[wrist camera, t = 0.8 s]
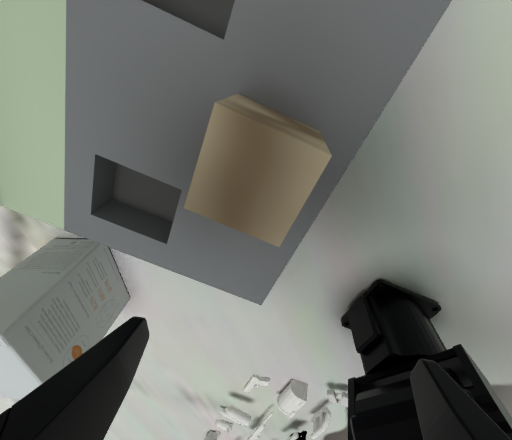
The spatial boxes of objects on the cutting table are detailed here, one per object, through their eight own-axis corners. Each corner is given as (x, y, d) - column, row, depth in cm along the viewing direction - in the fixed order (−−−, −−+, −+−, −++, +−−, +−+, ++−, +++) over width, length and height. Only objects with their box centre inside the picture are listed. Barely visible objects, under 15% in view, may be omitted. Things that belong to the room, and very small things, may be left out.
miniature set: (247, 476, 48) (189, 444, 49) (350, 375, 33) (265, 330, 33) (236, 525, 43) (172, 489, 43) (356, 431, 27) (253, 375, 28)
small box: (54, 236, 25) (-81, 330, 16) (107, 237, 24) (-3, 335, 15) (85, 296, 29) (-8, 399, 20) (132, 298, 28) (57, 406, 19)
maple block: (319, 131, 15) (331, 155, 10) (281, 203, 17) (279, 247, 13) (237, 93, 14) (214, 102, 10) (211, 173, 17) (183, 208, 12)
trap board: (455, -44, 13) (540, -103, 8) (264, 280, 25) (258, 324, 20) (-27, -318, 10) (-248, -589, 6) (19, 184, 22) (-46, 211, 18)
